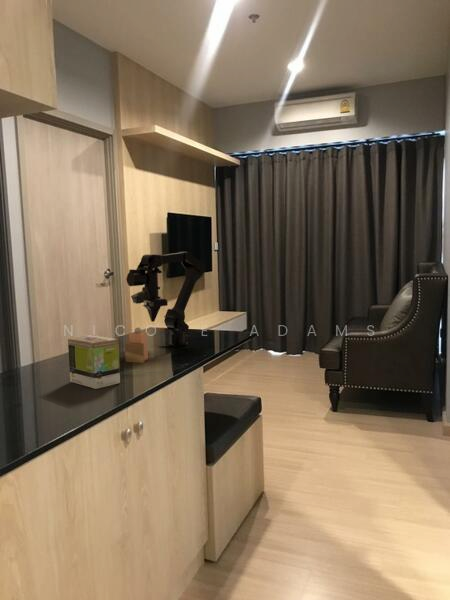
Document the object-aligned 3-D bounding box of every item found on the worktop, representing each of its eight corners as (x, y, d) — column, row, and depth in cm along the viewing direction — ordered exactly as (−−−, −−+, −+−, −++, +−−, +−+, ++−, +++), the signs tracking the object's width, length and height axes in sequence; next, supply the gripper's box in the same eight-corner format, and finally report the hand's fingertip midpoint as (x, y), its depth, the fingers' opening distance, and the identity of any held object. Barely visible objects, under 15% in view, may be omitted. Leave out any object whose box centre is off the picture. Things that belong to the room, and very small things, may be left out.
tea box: (121, 383, 167) (119, 338, 165) (94, 390, 160) (92, 343, 158) (95, 376, 177) (93, 333, 176) (69, 382, 170) (66, 337, 168)
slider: (136, 358, 197) (134, 326, 195) (147, 358, 195) (146, 326, 194) (130, 360, 193) (128, 328, 191) (142, 361, 191) (140, 328, 190)
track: (146, 355, 207) (145, 335, 206) (162, 356, 205) (161, 336, 204) (125, 365, 192) (124, 343, 191) (142, 366, 189) (141, 344, 188)
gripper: (124, 284, 220) (126, 320, 222) (141, 287, 204) (143, 326, 206) (149, 282, 226) (150, 318, 227) (167, 285, 210) (168, 323, 211)
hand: (152, 321), depth 218 cm, fingers closed
